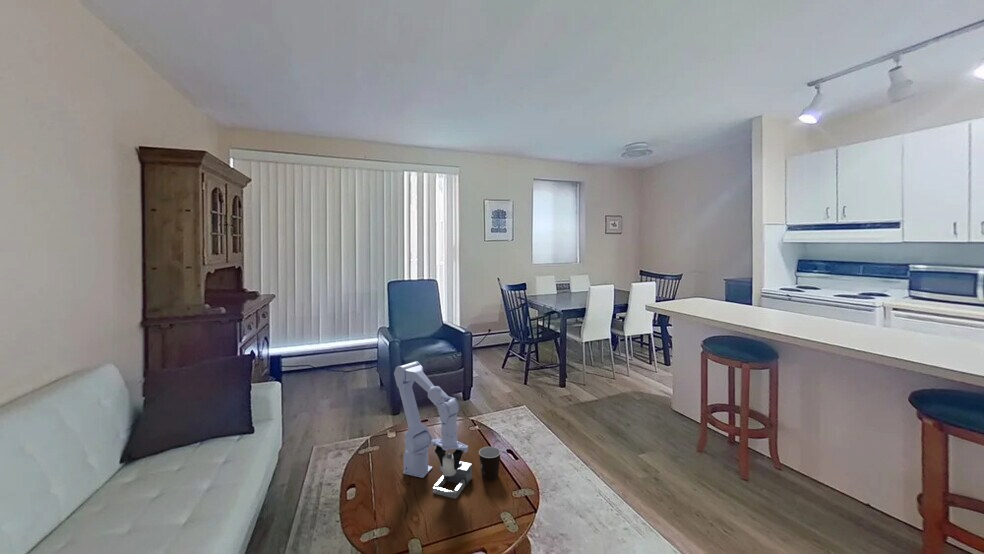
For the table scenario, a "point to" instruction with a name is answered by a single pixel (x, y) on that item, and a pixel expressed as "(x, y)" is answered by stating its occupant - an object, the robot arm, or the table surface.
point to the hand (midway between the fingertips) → (449, 466)
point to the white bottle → (448, 465)
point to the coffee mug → (489, 462)
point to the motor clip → (454, 480)
